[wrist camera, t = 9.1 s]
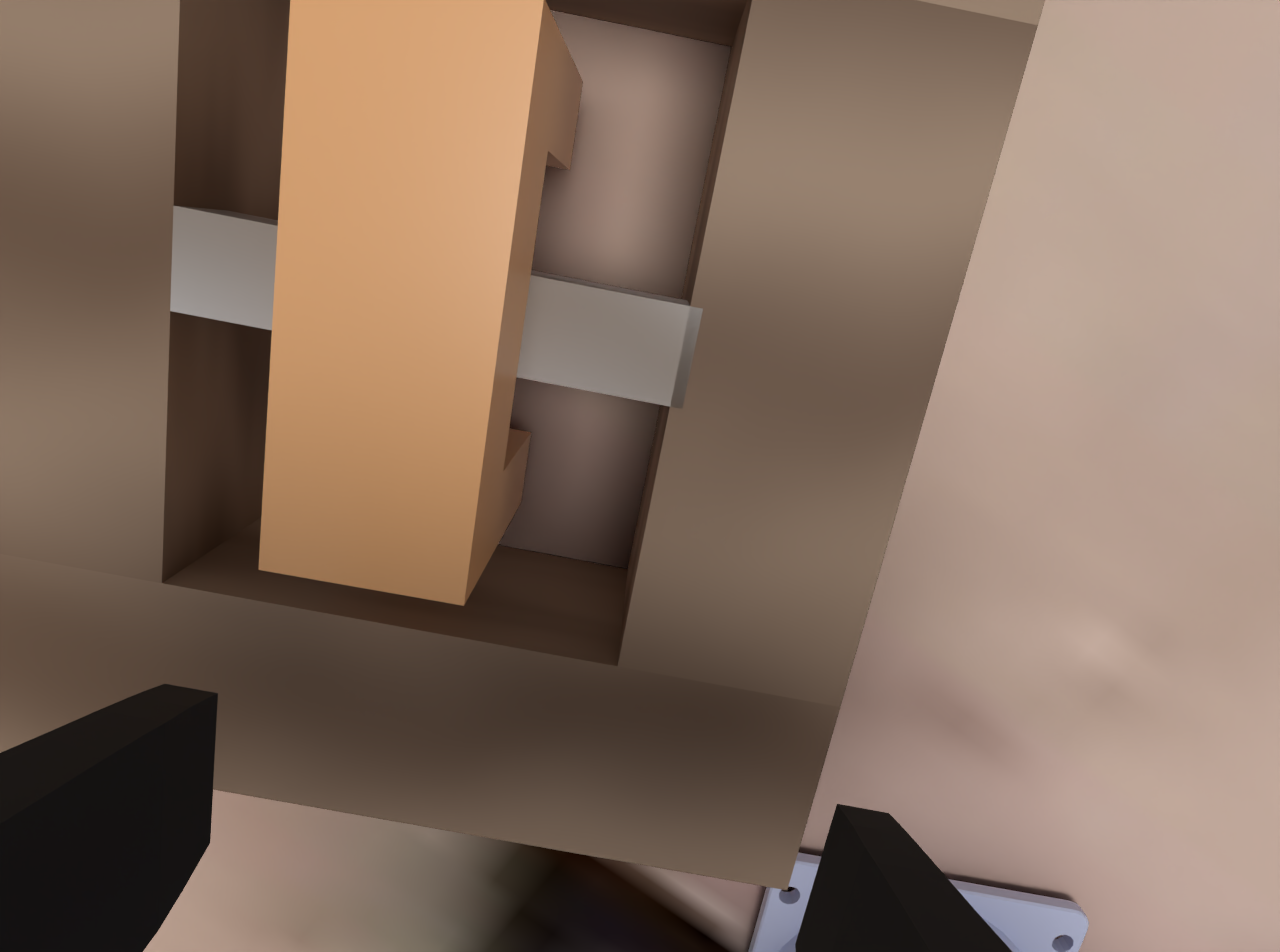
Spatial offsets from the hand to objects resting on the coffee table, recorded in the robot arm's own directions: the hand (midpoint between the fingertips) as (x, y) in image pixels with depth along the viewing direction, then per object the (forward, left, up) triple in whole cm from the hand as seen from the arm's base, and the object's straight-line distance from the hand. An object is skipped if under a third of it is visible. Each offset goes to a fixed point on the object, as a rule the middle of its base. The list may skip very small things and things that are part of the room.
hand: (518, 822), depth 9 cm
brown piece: (+5, +3, -9) cm, 11 cm away
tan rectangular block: (+5, +3, -8) cm, 10 cm away
